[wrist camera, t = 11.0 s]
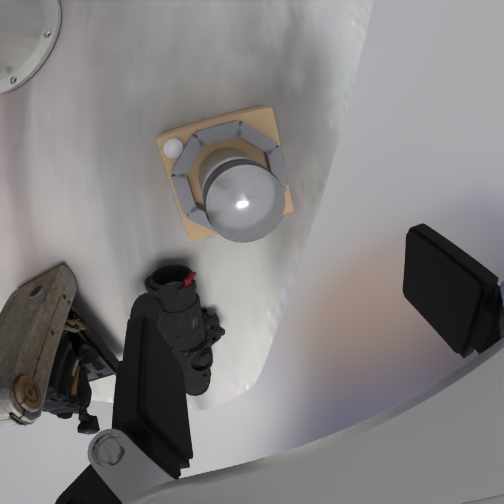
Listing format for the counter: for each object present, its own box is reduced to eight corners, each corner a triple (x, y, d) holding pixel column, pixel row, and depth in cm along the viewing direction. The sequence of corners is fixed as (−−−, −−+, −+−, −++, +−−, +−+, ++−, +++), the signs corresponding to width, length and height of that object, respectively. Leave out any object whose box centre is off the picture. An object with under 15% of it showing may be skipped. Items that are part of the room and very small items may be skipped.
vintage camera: (80, 364, 38) (66, 488, 21) (12, 286, 30) (-46, 416, 13) (132, 346, 39) (132, 484, 22) (64, 256, 30) (6, 405, 14)
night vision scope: (195, 351, 44) (143, 390, 37) (175, 240, 35) (101, 276, 28) (237, 377, 39) (183, 424, 32) (225, 259, 31) (143, 307, 24)
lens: (189, 156, 25) (194, 180, 18) (249, 139, 25) (277, 155, 18) (206, 212, 27) (218, 253, 20) (262, 194, 28) (293, 229, 21)
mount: (159, 133, 27) (154, 140, 22) (260, 105, 28) (277, 107, 23) (189, 225, 32) (191, 250, 27) (281, 198, 33) (298, 217, 28)
